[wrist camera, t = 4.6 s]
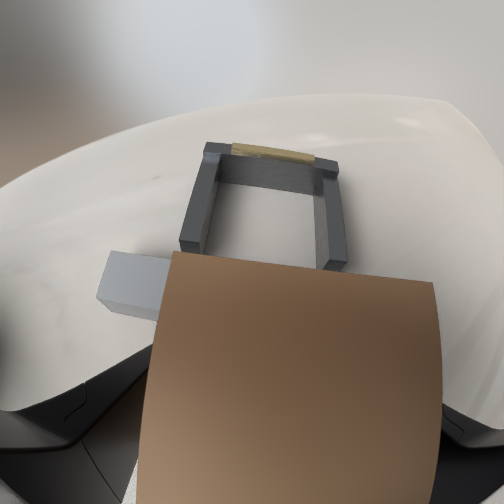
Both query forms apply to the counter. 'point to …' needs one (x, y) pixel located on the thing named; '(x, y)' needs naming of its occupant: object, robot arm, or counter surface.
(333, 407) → the block
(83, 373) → the counter surface
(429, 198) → the counter surface
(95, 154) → the counter surface
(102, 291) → the door edge
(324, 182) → the keeper
